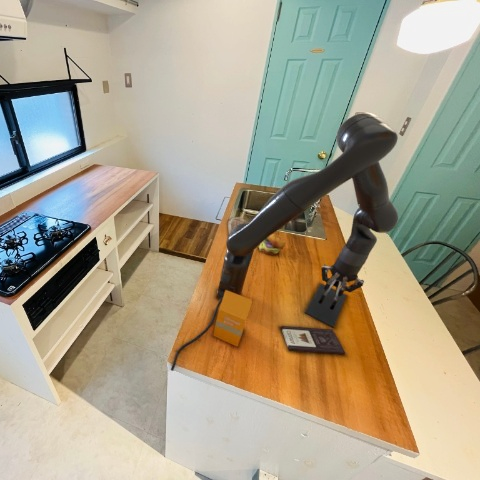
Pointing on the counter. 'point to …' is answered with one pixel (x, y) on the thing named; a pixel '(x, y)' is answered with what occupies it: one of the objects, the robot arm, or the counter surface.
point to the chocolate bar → (312, 340)
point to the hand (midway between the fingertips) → (331, 292)
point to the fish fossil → (235, 223)
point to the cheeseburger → (272, 244)
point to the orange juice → (232, 317)
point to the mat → (325, 306)
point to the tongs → (337, 285)
